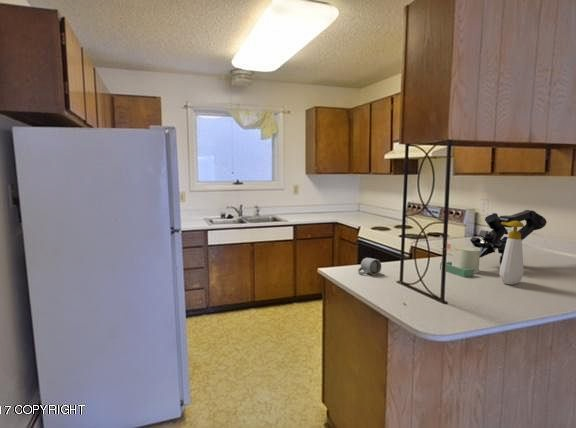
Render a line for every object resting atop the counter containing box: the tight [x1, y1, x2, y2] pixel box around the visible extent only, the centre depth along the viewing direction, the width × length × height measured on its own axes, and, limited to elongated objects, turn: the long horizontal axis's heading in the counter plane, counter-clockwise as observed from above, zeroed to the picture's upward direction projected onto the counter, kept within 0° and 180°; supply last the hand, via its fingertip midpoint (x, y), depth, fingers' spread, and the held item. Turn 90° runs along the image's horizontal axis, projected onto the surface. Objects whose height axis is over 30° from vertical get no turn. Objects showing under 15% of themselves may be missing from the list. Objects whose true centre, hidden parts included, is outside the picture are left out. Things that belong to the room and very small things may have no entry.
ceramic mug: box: [357, 257, 382, 276], centre depth 177 cm, size 11×8×8 cm
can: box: [459, 246, 480, 274], centre depth 182 cm, size 9×9×12 cm
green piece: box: [439, 243, 475, 278], centre depth 178 cm, size 6×15×14 cm, turn 22°
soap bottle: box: [499, 221, 525, 286], centre depth 162 cm, size 13×10×29 cm
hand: (479, 256), depth 184 cm, fingers closed
